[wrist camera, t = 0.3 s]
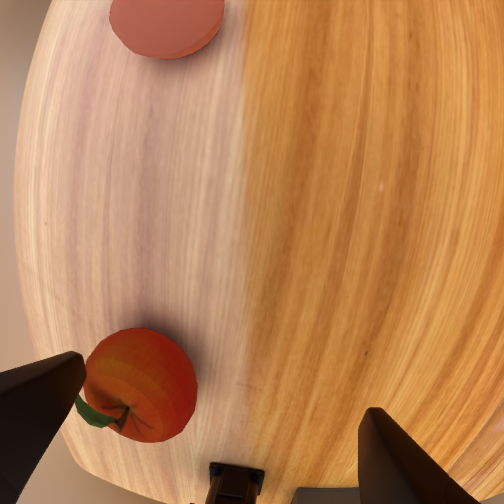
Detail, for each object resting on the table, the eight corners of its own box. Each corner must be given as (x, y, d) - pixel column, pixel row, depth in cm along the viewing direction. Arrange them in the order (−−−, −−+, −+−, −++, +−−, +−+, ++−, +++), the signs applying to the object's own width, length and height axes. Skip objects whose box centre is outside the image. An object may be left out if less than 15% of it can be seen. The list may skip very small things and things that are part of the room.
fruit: (179, 411, 27) (143, 485, 17) (103, 356, 26) (46, 415, 17) (230, 358, 24) (199, 447, 15) (139, 290, 24) (66, 351, 14)
